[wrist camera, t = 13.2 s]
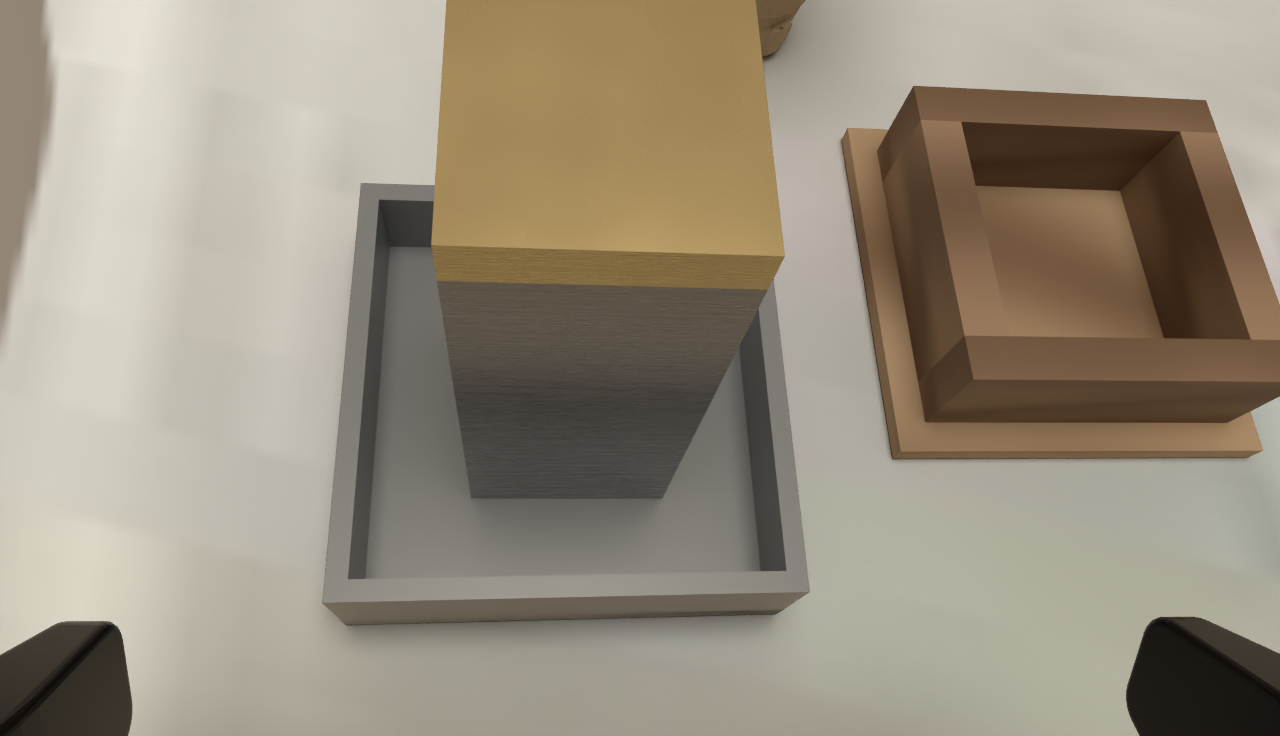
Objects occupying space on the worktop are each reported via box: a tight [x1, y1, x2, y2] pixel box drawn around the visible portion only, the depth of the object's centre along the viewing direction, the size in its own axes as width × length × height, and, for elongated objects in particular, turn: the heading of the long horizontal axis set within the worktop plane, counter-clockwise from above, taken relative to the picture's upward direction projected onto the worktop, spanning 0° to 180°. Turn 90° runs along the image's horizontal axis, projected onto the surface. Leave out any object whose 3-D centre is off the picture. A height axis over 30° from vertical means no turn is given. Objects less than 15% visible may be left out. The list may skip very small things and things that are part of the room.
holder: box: [842, 86, 1280, 459], centre depth 23 cm, size 9×9×3 cm
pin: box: [431, 0, 785, 499], centre depth 16 cm, size 4×4×10 cm
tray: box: [322, 183, 810, 625], centre depth 20 cm, size 9×9×2 cm
